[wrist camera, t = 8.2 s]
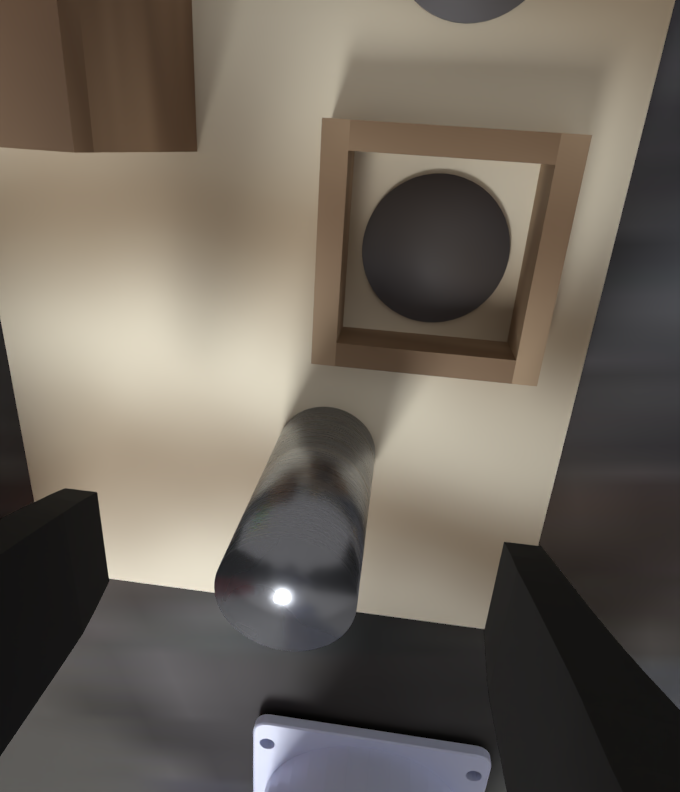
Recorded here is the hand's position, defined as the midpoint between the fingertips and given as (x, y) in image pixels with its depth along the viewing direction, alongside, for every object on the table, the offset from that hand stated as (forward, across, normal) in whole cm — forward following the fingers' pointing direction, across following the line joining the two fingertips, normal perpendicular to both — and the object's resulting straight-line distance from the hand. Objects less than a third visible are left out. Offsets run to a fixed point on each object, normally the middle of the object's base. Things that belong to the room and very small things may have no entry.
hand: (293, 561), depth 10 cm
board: (+5, +1, -4) cm, 7 cm away
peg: (+4, 0, 0) cm, 4 cm away
